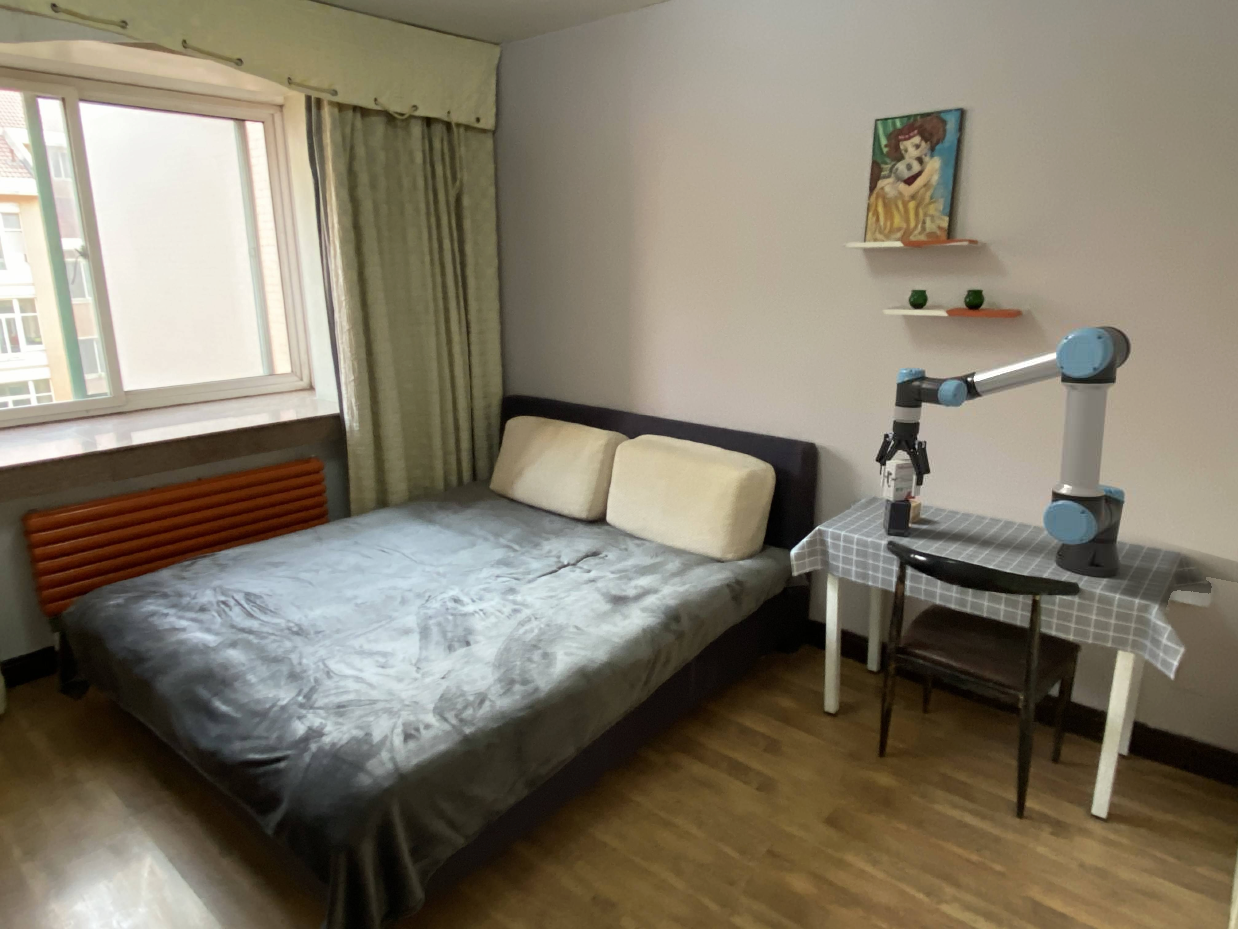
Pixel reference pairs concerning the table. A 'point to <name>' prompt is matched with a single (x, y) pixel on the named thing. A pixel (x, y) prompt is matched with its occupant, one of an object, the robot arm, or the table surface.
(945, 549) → the table surface
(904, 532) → the small box
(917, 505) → the oak cube
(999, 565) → the table surface
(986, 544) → the table surface
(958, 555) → the table surface
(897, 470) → the ink box
